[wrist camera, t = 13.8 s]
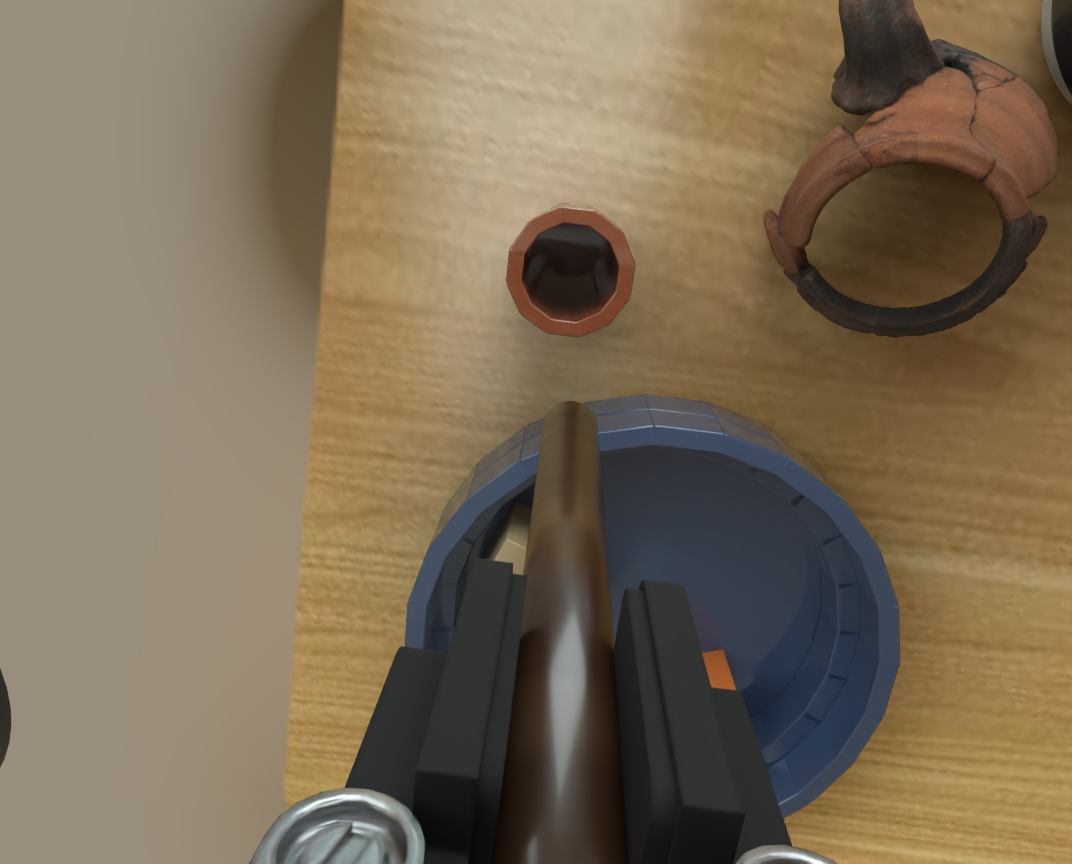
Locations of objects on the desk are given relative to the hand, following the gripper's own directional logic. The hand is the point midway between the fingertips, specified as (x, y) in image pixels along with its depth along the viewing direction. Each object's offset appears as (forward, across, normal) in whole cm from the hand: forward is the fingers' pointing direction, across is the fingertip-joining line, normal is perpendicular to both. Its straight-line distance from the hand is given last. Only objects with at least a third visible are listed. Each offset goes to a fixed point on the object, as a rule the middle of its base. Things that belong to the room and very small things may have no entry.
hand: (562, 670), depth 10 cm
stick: (+11, 0, 0) cm, 11 cm away
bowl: (+23, -5, +11) cm, 26 cm away
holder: (+23, 0, -4) cm, 23 cm away
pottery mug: (+23, -10, -9) cm, 27 cm away
